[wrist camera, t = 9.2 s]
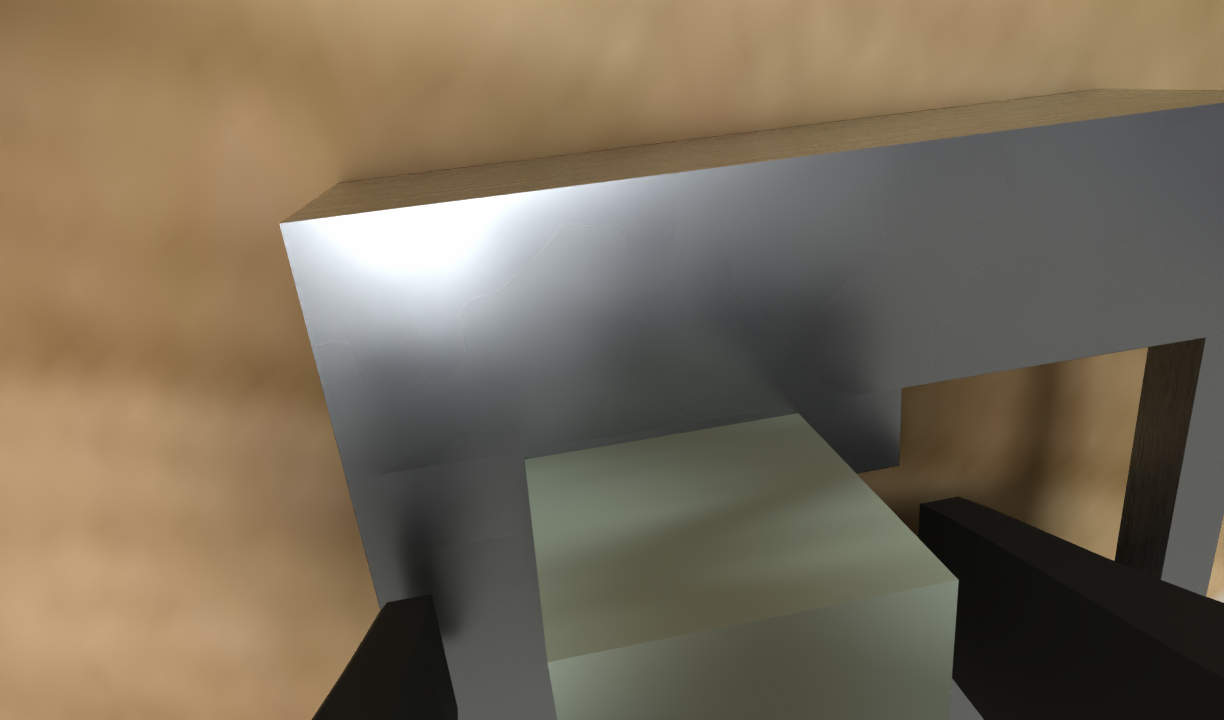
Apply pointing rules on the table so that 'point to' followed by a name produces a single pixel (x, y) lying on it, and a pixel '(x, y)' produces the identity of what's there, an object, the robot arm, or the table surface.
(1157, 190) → the keyhole bracket
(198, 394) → the table surface
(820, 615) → the peg
